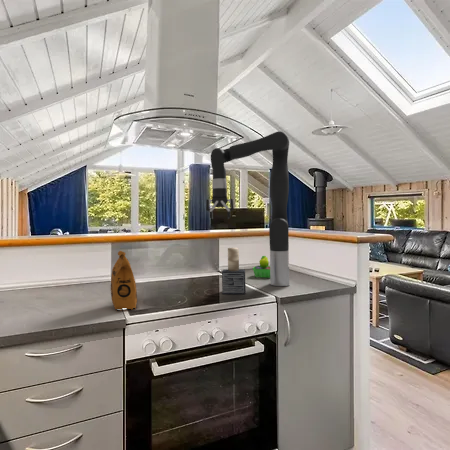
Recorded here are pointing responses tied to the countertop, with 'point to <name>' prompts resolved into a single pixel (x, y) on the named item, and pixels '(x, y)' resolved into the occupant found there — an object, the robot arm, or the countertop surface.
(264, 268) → the fruit basket
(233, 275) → the small box
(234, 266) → the birch cylinder
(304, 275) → the countertop surface
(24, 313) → the countertop surface
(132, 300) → the coffee package
